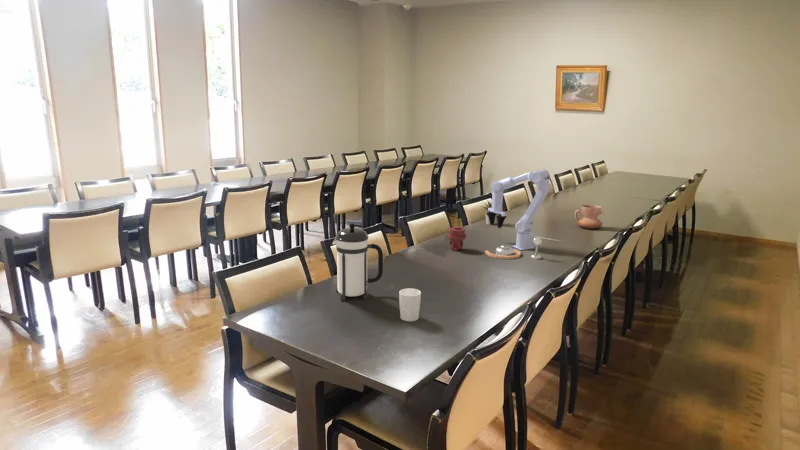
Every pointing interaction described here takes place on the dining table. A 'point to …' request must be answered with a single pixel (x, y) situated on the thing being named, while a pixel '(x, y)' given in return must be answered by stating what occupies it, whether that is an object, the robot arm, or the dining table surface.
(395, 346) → the dining table surface
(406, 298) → the white cup
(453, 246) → the mechanical component
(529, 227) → the robot arm
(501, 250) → the cast cover
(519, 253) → the ring
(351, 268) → the coffee press
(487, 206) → the house plant
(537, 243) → the wine glass
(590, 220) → the ceramic jug
